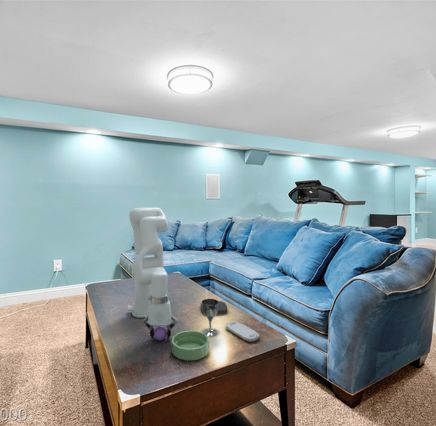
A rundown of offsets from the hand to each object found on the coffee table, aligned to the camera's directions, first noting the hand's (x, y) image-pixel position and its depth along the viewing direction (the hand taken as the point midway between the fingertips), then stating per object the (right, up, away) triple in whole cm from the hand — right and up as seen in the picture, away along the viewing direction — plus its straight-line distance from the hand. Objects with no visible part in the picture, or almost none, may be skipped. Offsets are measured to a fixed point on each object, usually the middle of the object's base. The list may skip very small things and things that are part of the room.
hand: (160, 337), depth 123 cm
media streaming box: (+27, 0, +33) cm, 43 cm away
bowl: (+14, -1, -9) cm, 17 cm away
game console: (+38, -1, +5) cm, 38 cm away
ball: (0, -1, 0) cm, 1 cm away
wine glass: (+23, -1, +6) cm, 24 cm away
